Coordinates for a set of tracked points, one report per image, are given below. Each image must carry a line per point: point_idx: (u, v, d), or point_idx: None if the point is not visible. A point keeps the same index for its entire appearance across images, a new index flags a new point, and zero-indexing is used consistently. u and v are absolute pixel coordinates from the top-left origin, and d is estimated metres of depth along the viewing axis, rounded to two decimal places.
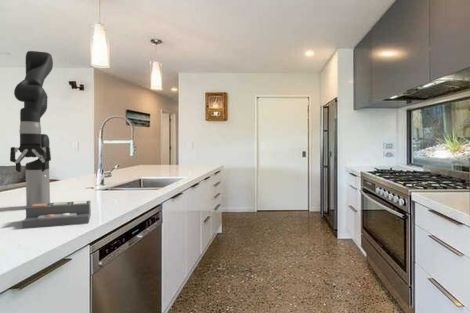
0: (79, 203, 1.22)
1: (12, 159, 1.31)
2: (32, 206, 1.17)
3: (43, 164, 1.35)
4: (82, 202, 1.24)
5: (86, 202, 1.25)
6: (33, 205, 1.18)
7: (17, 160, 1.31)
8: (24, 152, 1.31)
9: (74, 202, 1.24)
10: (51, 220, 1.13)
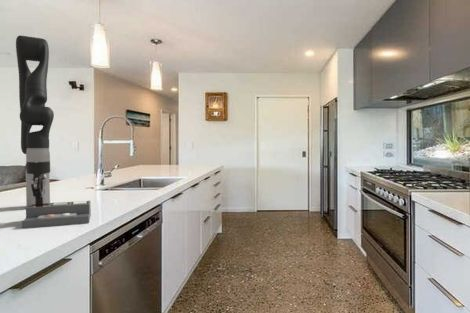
0: (79, 203, 1.22)
1: (41, 193, 1.17)
2: None
3: None
4: (82, 202, 1.24)
5: (86, 202, 1.25)
6: None
7: (42, 194, 1.19)
8: (43, 183, 1.18)
9: (74, 202, 1.24)
10: (51, 220, 1.13)
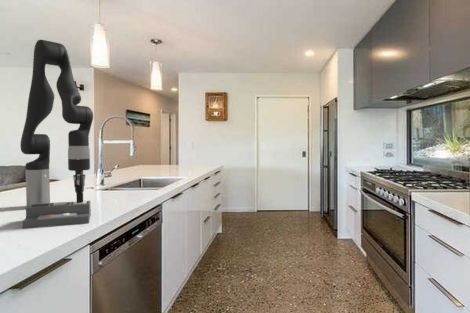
0: (79, 203, 1.22)
1: (82, 189, 1.22)
2: None
3: None
4: (82, 202, 1.24)
5: (86, 202, 1.25)
6: None
7: (82, 189, 1.24)
8: (84, 179, 1.23)
9: (74, 202, 1.24)
10: (51, 220, 1.13)
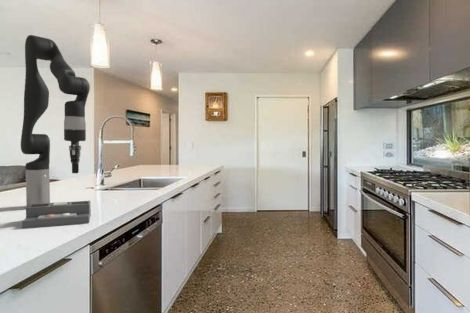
0: None
1: (78, 159, 1.23)
2: None
3: None
4: None
5: None
6: None
7: None
8: None
9: None
10: (51, 220, 1.13)
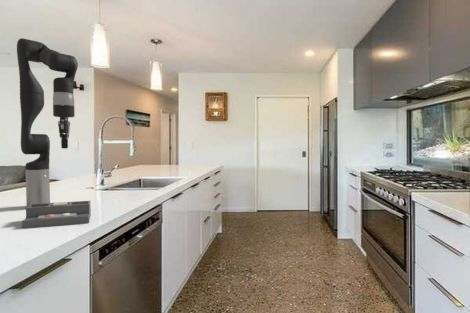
0: None
1: (67, 134, 1.26)
2: None
3: None
4: None
5: None
6: None
7: (67, 136, 1.28)
8: (68, 125, 1.28)
9: None
10: (51, 220, 1.13)
